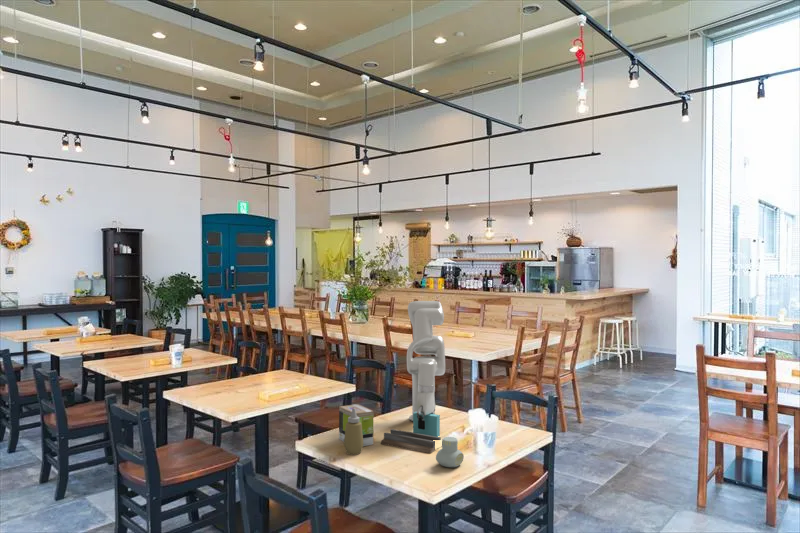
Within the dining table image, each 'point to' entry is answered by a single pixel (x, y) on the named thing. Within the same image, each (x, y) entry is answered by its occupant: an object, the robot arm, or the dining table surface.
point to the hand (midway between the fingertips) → (426, 426)
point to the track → (410, 440)
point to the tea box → (364, 419)
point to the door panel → (427, 425)
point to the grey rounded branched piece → (449, 453)
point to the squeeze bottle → (353, 434)
